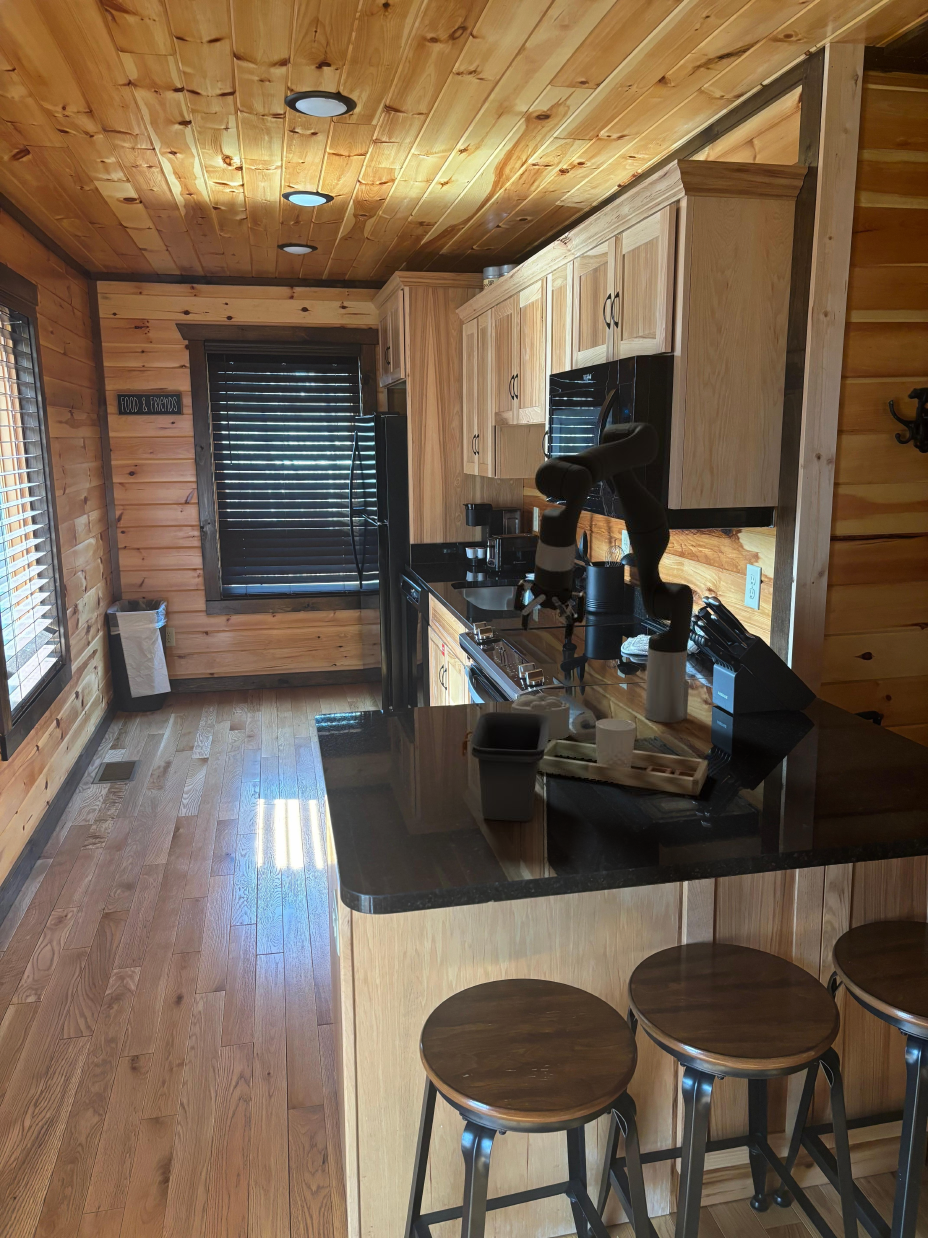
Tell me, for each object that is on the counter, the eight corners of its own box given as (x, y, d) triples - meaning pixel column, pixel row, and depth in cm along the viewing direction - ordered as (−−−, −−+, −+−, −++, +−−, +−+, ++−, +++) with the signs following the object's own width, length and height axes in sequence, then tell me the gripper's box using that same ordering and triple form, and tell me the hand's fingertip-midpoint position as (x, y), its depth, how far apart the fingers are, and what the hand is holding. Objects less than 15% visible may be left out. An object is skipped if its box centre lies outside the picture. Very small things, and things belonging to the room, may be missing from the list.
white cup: (624, 781, 175) (626, 732, 173) (587, 773, 179) (589, 725, 177) (639, 769, 181) (641, 722, 180) (603, 762, 186) (605, 716, 184)
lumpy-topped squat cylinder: (515, 725, 210) (516, 690, 209) (571, 729, 208) (572, 693, 206) (508, 739, 200) (509, 701, 199) (566, 743, 198) (567, 705, 196)
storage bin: (545, 830, 152) (547, 750, 149) (454, 825, 153) (455, 745, 151) (548, 785, 172) (550, 714, 170) (468, 781, 174) (469, 710, 172)
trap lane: (707, 774, 179) (708, 760, 178) (697, 795, 168) (698, 780, 167) (552, 752, 191) (552, 739, 191) (534, 770, 180) (534, 756, 180)
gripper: (594, 560, 176) (584, 632, 183) (524, 547, 179) (518, 618, 187) (586, 575, 169) (577, 649, 177) (514, 562, 173) (508, 634, 181)
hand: (546, 633), depth 182 cm, fingers open, 8 cm apart
